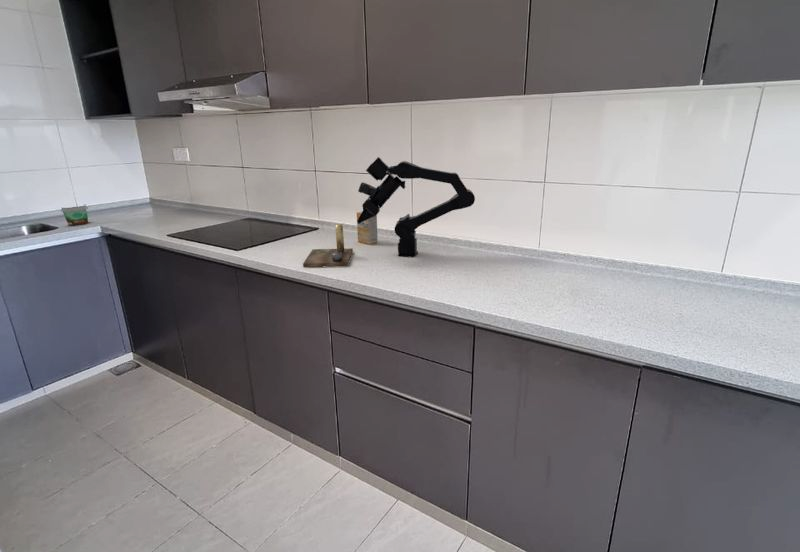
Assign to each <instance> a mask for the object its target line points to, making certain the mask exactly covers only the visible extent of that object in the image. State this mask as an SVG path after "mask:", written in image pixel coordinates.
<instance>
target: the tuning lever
mask: <svg viewBox="0 0 800 552" xmlns="http://www.w3.org/2000/svg"><path fill="white" fill-rule="evenodd" d="M343 225H344V224H342V223H337V224H335V226H334V228H335V238H336V240H335V241H336V249H337V252H334V253H332V260H333V261H341V260H342V252H344V249H345V240H344V226H343Z"/></svg>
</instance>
